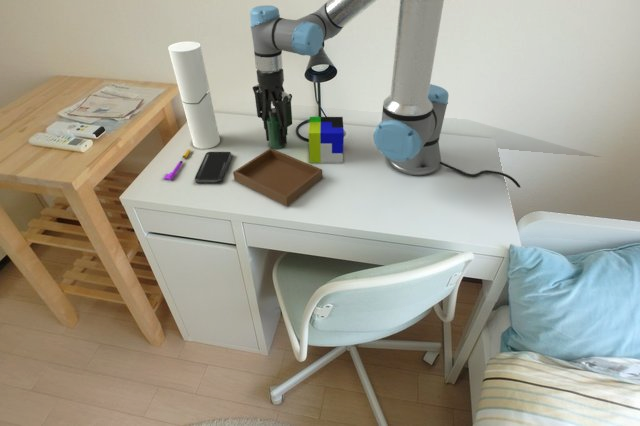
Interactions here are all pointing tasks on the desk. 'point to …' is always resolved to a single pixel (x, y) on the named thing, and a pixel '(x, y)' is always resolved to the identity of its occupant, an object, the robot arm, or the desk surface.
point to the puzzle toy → (326, 139)
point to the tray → (278, 176)
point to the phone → (213, 168)
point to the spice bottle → (273, 129)
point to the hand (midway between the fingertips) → (276, 141)
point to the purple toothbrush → (172, 174)
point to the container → (195, 93)
